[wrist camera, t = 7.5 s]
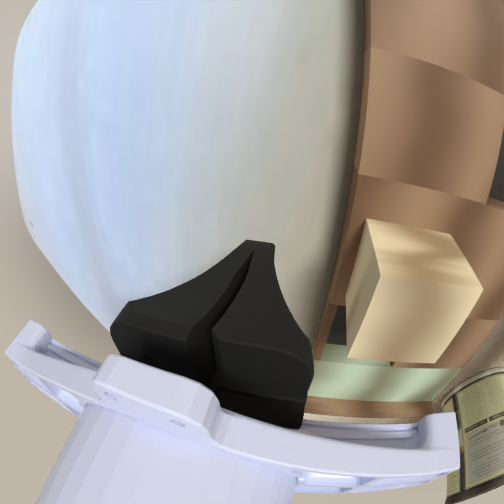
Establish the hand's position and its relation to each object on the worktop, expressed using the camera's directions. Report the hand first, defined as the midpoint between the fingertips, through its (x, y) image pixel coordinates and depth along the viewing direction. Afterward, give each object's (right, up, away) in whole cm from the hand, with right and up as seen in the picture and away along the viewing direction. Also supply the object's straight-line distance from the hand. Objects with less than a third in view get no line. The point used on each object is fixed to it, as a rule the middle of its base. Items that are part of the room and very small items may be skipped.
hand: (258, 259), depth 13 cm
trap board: (+12, +1, +1) cm, 12 cm away
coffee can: (+27, -16, +9) cm, 33 cm away
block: (+8, 0, +1) cm, 8 cm away
